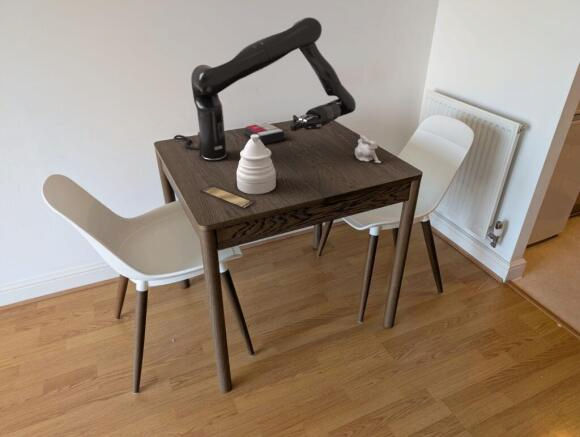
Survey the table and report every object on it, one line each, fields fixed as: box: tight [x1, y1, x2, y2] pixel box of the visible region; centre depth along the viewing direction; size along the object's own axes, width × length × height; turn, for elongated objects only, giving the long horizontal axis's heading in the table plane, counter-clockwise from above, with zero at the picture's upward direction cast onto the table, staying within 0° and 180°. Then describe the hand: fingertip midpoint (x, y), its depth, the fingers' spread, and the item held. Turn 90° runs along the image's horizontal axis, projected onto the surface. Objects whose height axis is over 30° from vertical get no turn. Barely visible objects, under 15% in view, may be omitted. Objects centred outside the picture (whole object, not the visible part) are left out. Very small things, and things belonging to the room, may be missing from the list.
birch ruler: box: [203, 185, 254, 209], centre depth 135 cm, size 18×4×1 cm, turn 53°
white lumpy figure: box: [354, 134, 382, 164], centre depth 158 cm, size 12×8×10 cm, turn 32°
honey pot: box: [236, 134, 277, 195], centre depth 138 cm, size 13×13×18 cm
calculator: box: [244, 122, 285, 145], centre depth 180 cm, size 11×4×15 cm
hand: (292, 128), depth 148 cm, fingers closed
